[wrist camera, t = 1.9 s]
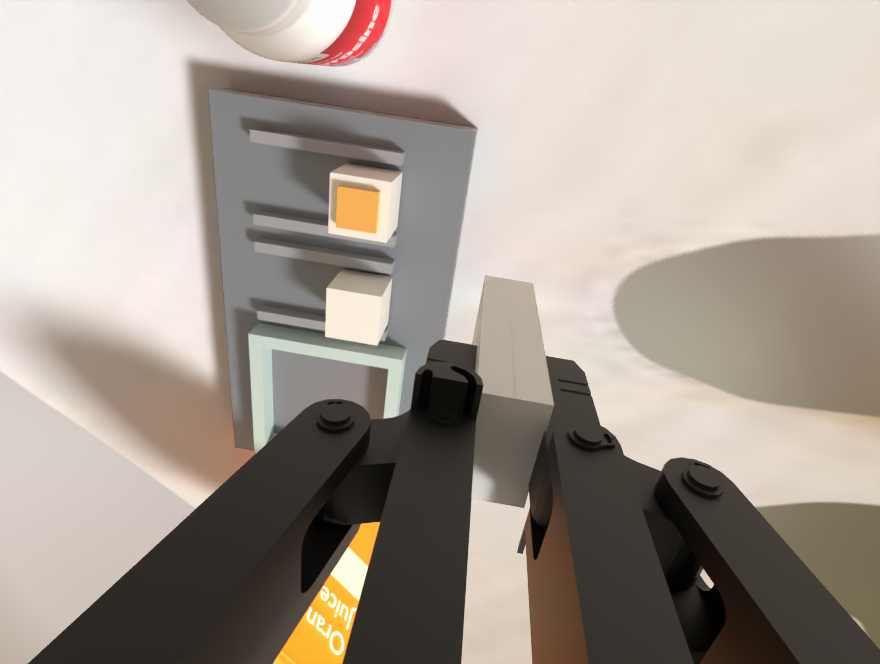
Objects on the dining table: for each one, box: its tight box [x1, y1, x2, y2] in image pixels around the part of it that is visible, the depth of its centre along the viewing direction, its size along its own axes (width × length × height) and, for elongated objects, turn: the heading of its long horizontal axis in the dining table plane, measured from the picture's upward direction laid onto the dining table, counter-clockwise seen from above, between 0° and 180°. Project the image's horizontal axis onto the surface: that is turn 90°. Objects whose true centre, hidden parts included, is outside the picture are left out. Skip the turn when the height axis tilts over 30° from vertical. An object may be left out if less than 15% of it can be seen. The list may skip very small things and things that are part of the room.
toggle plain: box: [325, 269, 392, 346], centre depth 28 cm, size 3×3×3 cm
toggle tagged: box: [328, 163, 403, 243], centre depth 25 cm, size 3×3×3 cm
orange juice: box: [273, 522, 380, 664], centre depth 32 cm, size 8×9×20 cm
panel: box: [208, 89, 477, 454], centre depth 31 cm, size 24×14×4 cm, turn 172°
